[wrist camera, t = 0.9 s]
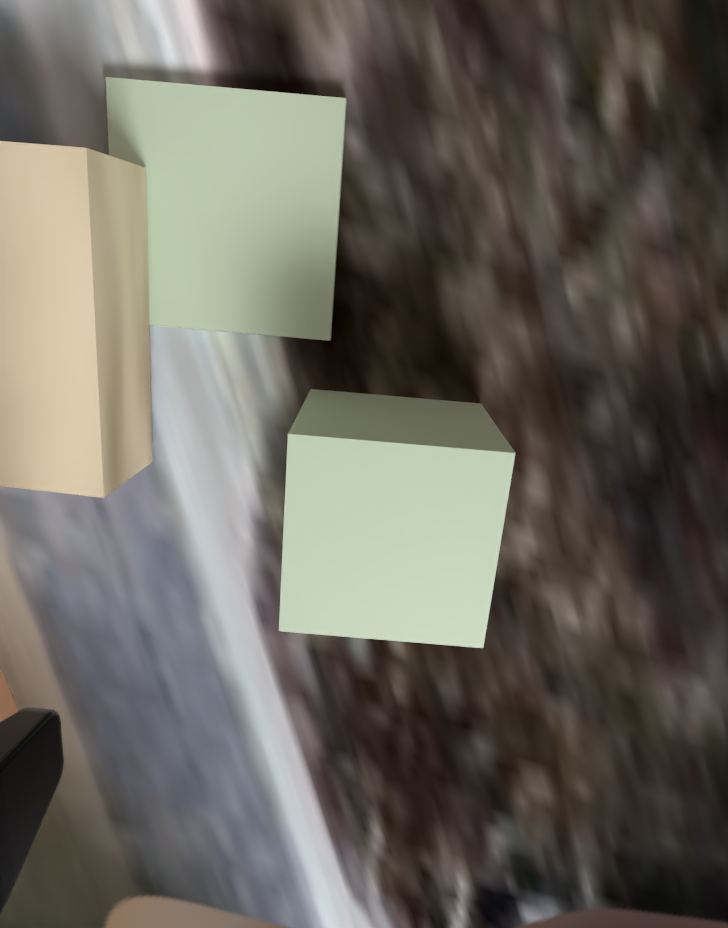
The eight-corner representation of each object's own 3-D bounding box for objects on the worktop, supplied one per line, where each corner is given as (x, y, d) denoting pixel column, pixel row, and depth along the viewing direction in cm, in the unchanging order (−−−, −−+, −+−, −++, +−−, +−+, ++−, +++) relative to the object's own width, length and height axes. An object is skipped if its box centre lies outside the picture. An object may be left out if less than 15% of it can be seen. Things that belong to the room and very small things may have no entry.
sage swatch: (346, 101, 16) (345, 98, 16) (331, 339, 18) (329, 340, 18) (112, 81, 16) (105, 77, 16) (121, 320, 18) (115, 322, 18)
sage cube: (480, 402, 19) (515, 453, 14) (458, 555, 20) (483, 648, 15) (311, 388, 18) (288, 433, 14) (302, 542, 20) (278, 631, 15)
